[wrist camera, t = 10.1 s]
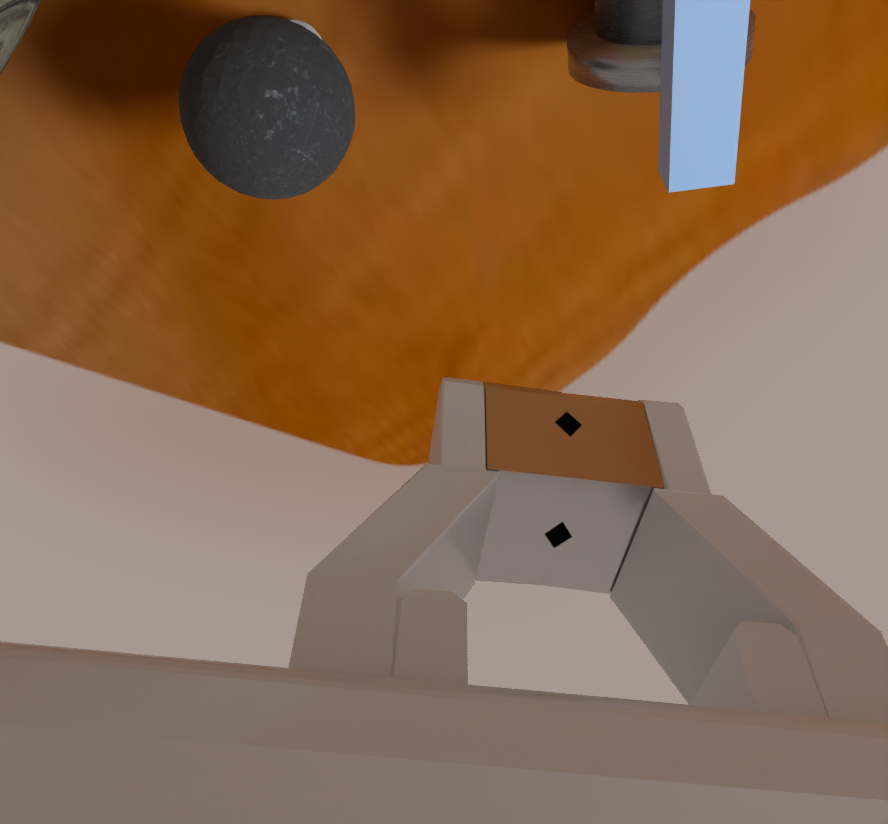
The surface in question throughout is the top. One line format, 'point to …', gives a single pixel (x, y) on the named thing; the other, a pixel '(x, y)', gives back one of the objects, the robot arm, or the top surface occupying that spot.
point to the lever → (701, 91)
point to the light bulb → (267, 107)
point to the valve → (623, 46)
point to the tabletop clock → (14, 25)
